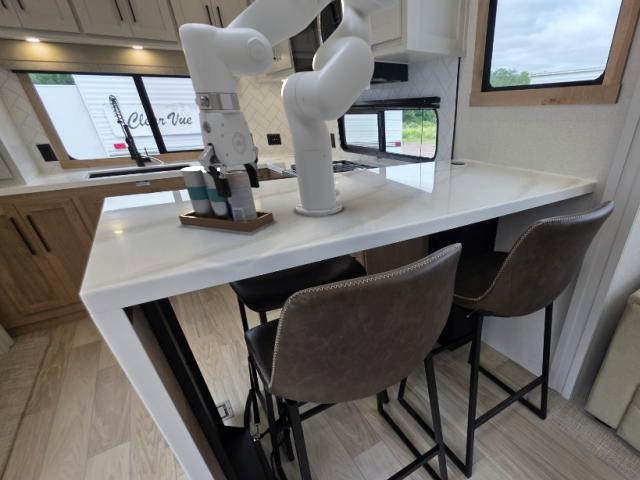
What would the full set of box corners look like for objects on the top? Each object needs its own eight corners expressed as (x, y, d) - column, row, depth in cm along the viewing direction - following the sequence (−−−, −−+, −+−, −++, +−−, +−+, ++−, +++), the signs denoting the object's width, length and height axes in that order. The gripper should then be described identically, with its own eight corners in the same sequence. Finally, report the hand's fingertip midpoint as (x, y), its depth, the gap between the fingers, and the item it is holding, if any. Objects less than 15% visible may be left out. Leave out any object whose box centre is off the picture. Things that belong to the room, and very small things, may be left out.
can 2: (226, 218, 83) (212, 167, 77) (243, 220, 82) (231, 168, 75) (211, 224, 79) (195, 171, 72) (229, 226, 77) (214, 172, 71)
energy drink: (249, 219, 82) (237, 168, 76) (263, 223, 80) (252, 170, 73) (230, 225, 78) (215, 172, 72) (244, 229, 76) (231, 174, 69)
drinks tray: (210, 215, 86) (207, 205, 85) (274, 222, 82) (272, 212, 81) (181, 226, 79) (178, 215, 77) (250, 234, 74) (247, 223, 73)
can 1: (208, 216, 84) (193, 166, 78) (224, 218, 83) (211, 167, 77) (192, 222, 80) (175, 169, 74) (209, 224, 79) (193, 171, 73)
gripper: (200, 104, 58) (227, 203, 67) (261, 104, 72) (276, 185, 81) (167, 104, 60) (197, 200, 69) (233, 103, 74) (250, 183, 83)
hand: (240, 191), depth 75 cm, fingers open, 9 cm apart
